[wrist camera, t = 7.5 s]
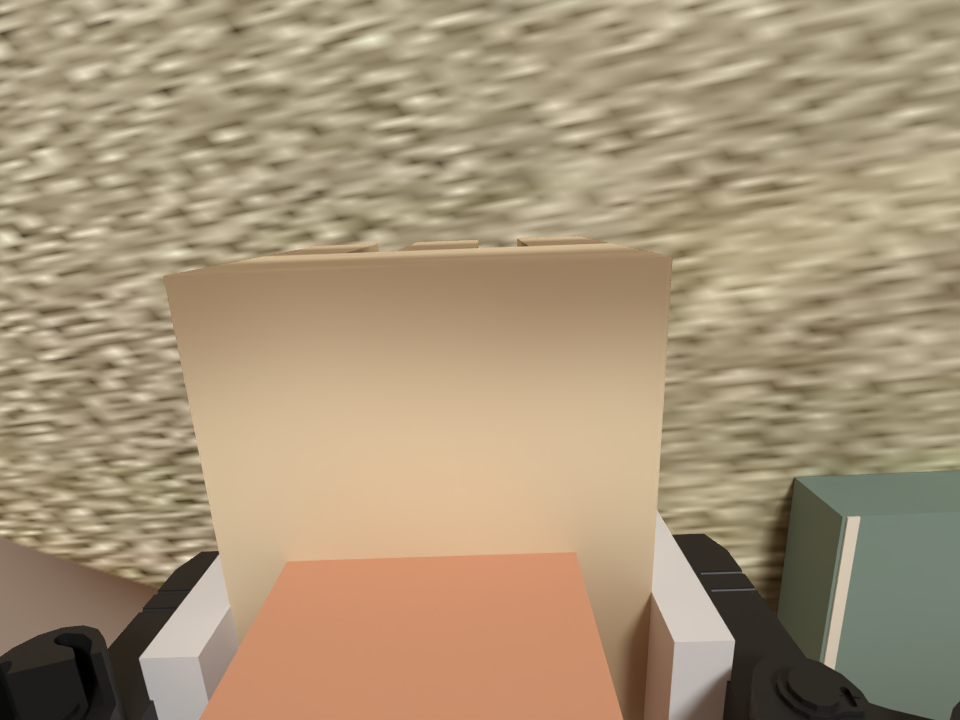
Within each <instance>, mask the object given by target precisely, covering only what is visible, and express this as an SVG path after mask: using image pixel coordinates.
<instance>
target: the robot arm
mask: <svg viewBox="0 0 960 720" xmlns="http://www.w3.org/2000/svg"><path fill="white" fill-rule="evenodd" d="M238 649H239V643H238V638H237V633H236V628H235V623H234V618H233V613H232V608H231V605H230V604H229V599H228V594H227V589H226V584H225V579H224V575H223V570H222V565H221V560H220V555H219V551H212V552H201V553H199V554H198V555H196V556H195V557H193V558H192V559H191V560H189V561H188V562H186V563H185V564H183V565H182V566H181V567H179V568H178V569H176V570H175V571H174V573H173V574H172V575H171V576H170V577H169V578H168V579H167V581H166V582H165V583H164V584H163V585H162V586H161V588H160V589H159V590H158V594H157V595H154V596H153V597H152V598H151V599H150V601H149V602H148V603H147V604H146V605H145V606H144V607H143V612H142V613H138V615H137V616H136V617H135V618H134V619H133V620H132V621H131V623H130V624H129V625H128V626H127V627H126V629H125V630H124V631H123V632H122V633H121V634H120V635H119V637H118V638H117V639H116V640H115V641H114V642H113V644H112V645H111V646H110V647H109V648H108V649H107V646H106V642H105V639H104V637H103V636H102V635H101V633H100V631H99V630H98V629H95V628H91V627H88V626H84V625H83V626H74V627H65V628H60V629H57V630H54V631H51V632H47V633H44V634H41V635H38V636H36V637H34V638H32V639H30V640H28V641H26V642H24V643H22V644H20V645H18V646H16V647H14V648H12V649H11V650H10V651H8V652H7V653H5V654H4V655H2V656H1V657H0V720H199V719H200V717H201V715H202V713H203V712H204V710H205V708H206V706H207V704H208V703H209V701H210V699H211V697H212V695H213V694H214V692H215V690H216V688H217V686H218V685H219V683H220V681H221V679H222V677H223V676H224V674H225V672H226V670H227V668H228V667H229V665H230V663H231V661H232V659H233V658H234V656H235V654H236V652H237V650H238ZM644 720H934V719H929V718H925V717H921V716H917V715H913V714H908V713H904V712H900V711H896V710H892V709H888V708H885V707H882V706H878V705H875V704H872V703H869V702H868V700H867V699H866V697H865V696H864V694H863V693H862V691H861V690H860V689H858V688H857V687H856V686H855V685H854V684H853V683H852V682H850V681H849V680H848V679H847V678H846V677H845V676H844V675H842V674H841V673H839V672H837V671H835V670H833V669H832V668H830V667H828V666H826V665H825V664H823V663H821V662H819V661H815V660H812V659H809V658H806V656H805V655H804V654H803V652H802V651H801V650H800V648H799V647H798V646H797V644H796V643H795V642H794V640H793V639H792V637H791V636H790V635H789V633H788V632H787V631H786V629H785V628H784V627H783V625H782V624H781V623H780V621H779V620H778V618H777V617H776V616H775V614H774V613H773V612H772V610H771V609H770V608H769V606H768V605H767V604H766V602H765V601H764V599H763V598H762V597H761V595H760V594H759V593H758V591H755V589H754V586H753V585H752V583H751V582H750V581H749V579H748V578H747V576H746V575H745V574H742V570H741V568H740V567H739V566H738V564H737V563H736V562H735V560H734V559H733V557H732V556H731V555H730V553H729V552H728V551H727V550H726V549H725V548H723V547H722V546H721V545H719V544H718V543H716V542H715V541H713V540H712V539H711V538H709V537H708V536H706V535H705V534H681V535H672V534H671V533H670V531H669V529H668V528H667V526H666V524H665V523H664V521H663V519H662V518H661V516H660V514H659V513H658V511H657V514H656V530H655V546H654V562H653V578H652V594H651V610H650V626H649V642H648V658H647V674H646V690H645V706H644ZM950 720H960V701H959V702H958V703H957V704H956V706H955V707H954V708H953V710H952V713H951V717H950Z"/></svg>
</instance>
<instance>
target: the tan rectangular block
mask: <svg viewBox="0 0 960 720" xmlns="http://www.w3.org/2000/svg"><path fill="white" fill-rule="evenodd" d="M672 258H673V257H671V256H666V255H662V254H657V253H653V252H648V251H643V250H639V249H634V248H630V247H625V246H621V245H616V244H612V243H607V242H602V241H598V240H593V239H589V238H584V237H580V236H572V237H546V238H519V239H517V247H498V248H478V240H467V241H440V242H417V243H414V244H412V245H410V246H408V247H405V248H403V249H401V250H399V251H392V252H379V251H378V244H361V245H335V246H315V247H310V248H305V249H300V250H295V251H290V252H284V253H279V254H274V255H269V256H264V257H259V258H254V259H248V260H243V261H238V262H233V263H228V264H223V265H218V266H212V267H207V268H202V269H197V270H192V271H187V272H181V273H176V274H171V275H166V276H164V281H165V286H166V291H167V296H168V301H169V306H170V311H171V316H172V321H173V326H174V331H175V336H176V340H177V345H178V350H179V355H180V360H181V365H182V370H183V375H184V380H185V385H186V390H187V395H188V400H189V405H190V410H191V415H192V420H193V425H194V430H195V435H196V440H197V445H198V450H199V455H200V460H201V465H202V470H203V475H204V480H205V485H206V490H207V495H208V500H209V505H210V510H211V515H212V520H213V525H214V530H215V535H216V540H217V545H218V550H219V555H220V560H221V565H222V570H223V575H224V579H225V584H226V589H227V594H228V599H229V604H230V605H231V608H232V613H233V618H234V623H235V628H236V633H237V638H238V643H239V647H240V645H241V643H242V641H243V640H244V638H245V636H246V634H247V632H248V631H249V629H250V627H251V625H252V623H253V622H254V620H255V618H256V616H257V614H258V613H259V611H260V609H261V607H262V606H263V604H264V602H265V600H266V598H267V597H268V595H269V593H270V591H271V589H272V588H273V586H274V584H275V582H276V580H277V579H278V577H279V575H280V573H281V571H282V570H283V568H284V566H285V564H286V562H287V561H312V560H343V559H375V558H406V557H437V556H468V555H499V554H531V553H562V552H576V555H577V558H578V562H579V566H580V569H581V573H582V576H583V580H584V583H585V587H586V590H587V594H588V597H589V601H590V604H591V608H592V611H593V615H594V618H595V622H596V625H597V629H598V632H599V636H600V639H601V643H602V646H603V650H604V653H605V657H606V661H607V664H608V668H609V671H610V675H611V678H612V682H613V685H614V689H615V692H616V696H617V699H618V703H619V706H620V710H621V713H622V717H623V720H644V706H645V690H646V674H647V658H648V642H649V626H650V610H651V594H652V578H653V562H654V546H655V530H656V514H657V498H658V482H659V466H660V450H661V434H662V418H663V402H664V386H665V370H666V354H667V338H668V322H669V306H670V290H671V274H672Z"/></svg>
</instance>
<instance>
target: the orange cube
mask: <svg viewBox="0 0 960 720" xmlns="http://www.w3.org/2000/svg"><path fill="white" fill-rule="evenodd" d="M199 720H623V717H622V713H621V710H620V706H619V703H618V699H617V696H616V692H615V689H614V685H613V682H612V678H611V675H610V671H609V668H608V664H607V661H606V657H605V653H604V650H603V646H602V643H601V639H600V636H599V632H598V629H597V625H596V622H595V618H594V615H593V611H592V608H591V604H590V601H589V597H588V594H587V590H586V587H585V583H584V580H583V576H582V573H581V569H580V566H579V562H578V558H577V555H576V552H562V553H531V554H499V555H468V556H437V557H406V558H375V559H343V560H312V561H287V562H286V564H285V566H284V568H283V570H282V571H281V573H280V575H279V577H278V579H277V580H276V582H275V584H274V586H273V588H272V589H271V591H270V593H269V595H268V597H267V598H266V600H265V602H264V604H263V606H262V607H261V609H260V611H259V613H258V614H257V616H256V618H255V620H254V622H253V623H252V625H251V627H250V629H249V631H248V632H247V634H246V636H245V638H244V640H243V641H242V643H241V645H240V647H239V649H238V650H237V652H236V654H235V656H234V658H233V659H232V661H231V663H230V665H229V667H228V668H227V670H226V672H225V674H224V676H223V677H222V679H221V681H220V683H219V685H218V686H217V688H216V690H215V692H214V694H213V695H212V697H211V699H210V701H209V703H208V704H207V706H206V708H205V710H204V712H203V713H202V715H201V717H200V719H199Z"/></svg>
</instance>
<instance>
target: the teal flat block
mask: <svg viewBox="0 0 960 720" xmlns="http://www.w3.org/2000/svg"><path fill="white" fill-rule="evenodd" d="M777 618H778V620H779V621H780V623H781V624H782V625H783V627H784V628H785V629H786V631H787V632H788V633H789V635H790V636H791V637H792V639H793V640H794V642H795V643H796V644H797V646H798V647H799V648H800V650H801V651H802V652H803V654H804V655H805V656H806V658H809V659H812V660H815V661H819V662H821V663H823V664H825V665H826V666H828V667H830V668H832V669H833V670H835V671H837V672H839V673H841V674H842V675H844V676H845V677H846V678H847V679H848V680H849V681H850V682H852V683H853V684H854V685H855V686H856V687H857V688H858V689H860V690H861V691H862V693H863V694H864V696H865V697H866V699H867V700H868V702H869V703H872V704H875V705H878V706H882V707H885V708H888V709H892V710H896V711H900V712H904V713H908V714H913V715H917V716H921V717H925V718H929V719H934V720H950V717H951V713H952V710H953V708H954V707H955V706H956V704H957V703H958V702H959V701H960V470H959V471H935V472H912V473H888V474H865V475H842V476H818V477H795V480H794V488H793V496H792V503H791V511H790V519H789V527H788V534H787V542H786V550H785V557H784V565H783V573H782V581H781V588H780V596H779V604H778V611H777Z"/></svg>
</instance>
